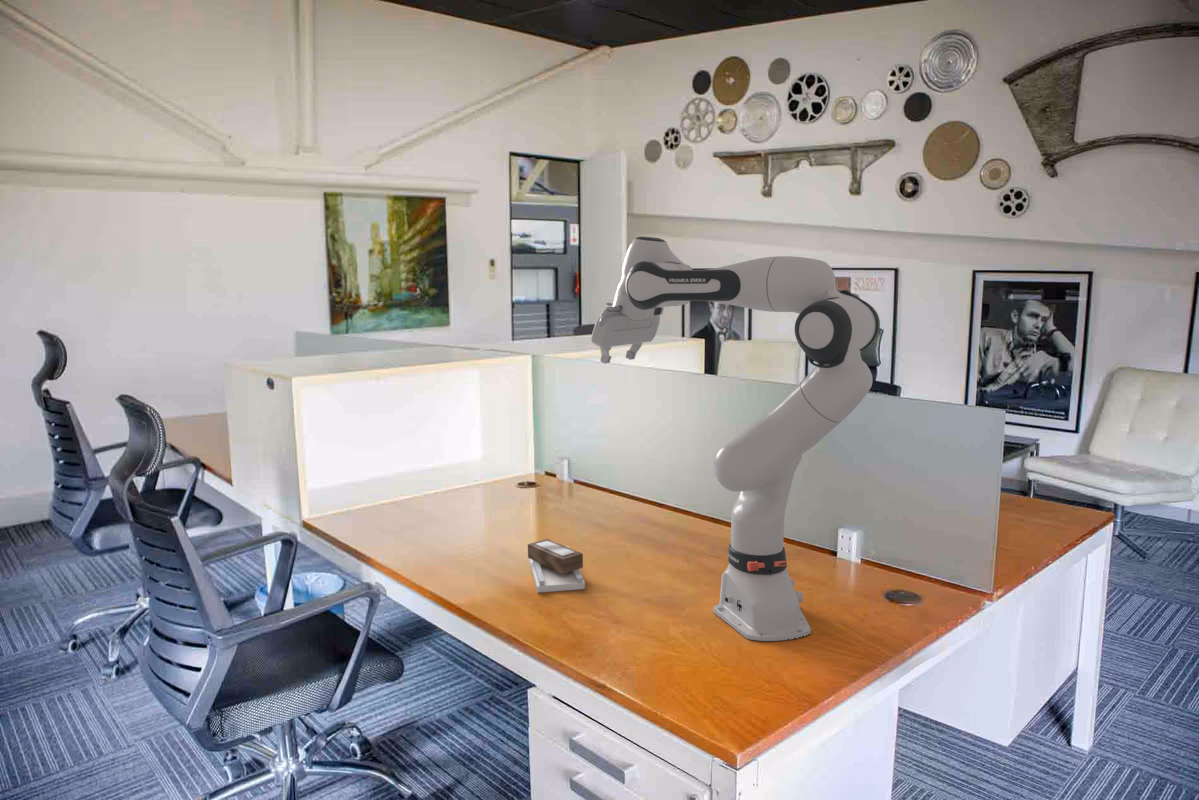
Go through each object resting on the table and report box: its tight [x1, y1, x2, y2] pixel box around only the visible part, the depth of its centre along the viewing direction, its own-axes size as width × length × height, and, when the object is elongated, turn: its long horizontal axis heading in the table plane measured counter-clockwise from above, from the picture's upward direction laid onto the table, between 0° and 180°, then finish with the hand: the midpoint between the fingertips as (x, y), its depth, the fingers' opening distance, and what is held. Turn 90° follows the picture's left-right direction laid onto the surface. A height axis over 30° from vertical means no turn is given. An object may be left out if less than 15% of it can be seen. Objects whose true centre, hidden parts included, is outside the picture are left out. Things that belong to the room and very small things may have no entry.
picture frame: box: [527, 538, 584, 574], centre depth 198 cm, size 14×6×4 cm, turn 40°
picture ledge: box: [527, 545, 586, 594], centre depth 199 cm, size 22×11×3 cm, turn 10°
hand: (617, 360), depth 193 cm, fingers open, 8 cm apart
